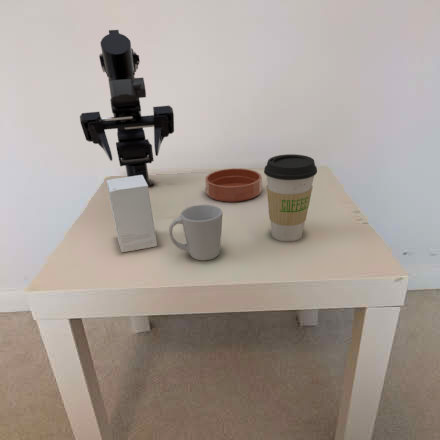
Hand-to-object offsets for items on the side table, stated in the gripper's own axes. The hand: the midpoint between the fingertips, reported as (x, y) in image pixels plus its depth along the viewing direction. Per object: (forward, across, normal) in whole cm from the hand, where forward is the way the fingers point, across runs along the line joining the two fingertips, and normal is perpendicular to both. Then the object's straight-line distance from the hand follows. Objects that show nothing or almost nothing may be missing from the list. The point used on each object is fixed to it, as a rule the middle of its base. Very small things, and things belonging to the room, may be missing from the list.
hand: (134, 156), depth 81 cm
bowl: (-1, +24, +20) cm, 31 cm away
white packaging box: (+16, -2, +7) cm, 17 cm away
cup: (+23, +9, +2) cm, 25 cm away
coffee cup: (+20, +28, +3) cm, 35 cm away
